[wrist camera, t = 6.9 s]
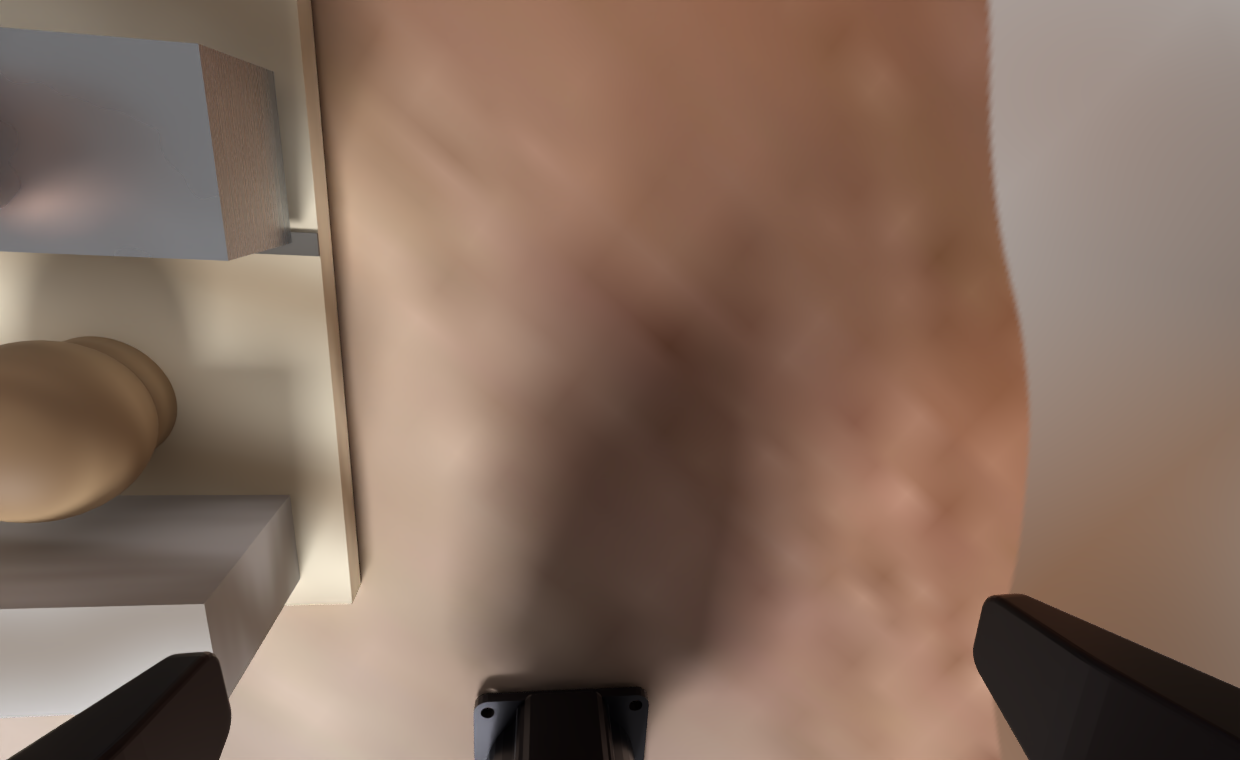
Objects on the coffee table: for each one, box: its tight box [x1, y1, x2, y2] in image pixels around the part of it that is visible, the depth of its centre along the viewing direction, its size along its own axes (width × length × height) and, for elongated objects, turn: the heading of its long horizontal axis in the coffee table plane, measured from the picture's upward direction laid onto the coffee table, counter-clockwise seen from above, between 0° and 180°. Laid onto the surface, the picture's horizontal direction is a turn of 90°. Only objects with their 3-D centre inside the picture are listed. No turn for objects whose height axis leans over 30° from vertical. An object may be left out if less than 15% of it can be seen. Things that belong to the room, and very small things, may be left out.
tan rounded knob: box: [0, 336, 177, 523], centre depth 15 cm, size 4×4×4 cm
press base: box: [0, 0, 361, 718], centre depth 14 cm, size 22×12×6 cm, turn 176°
